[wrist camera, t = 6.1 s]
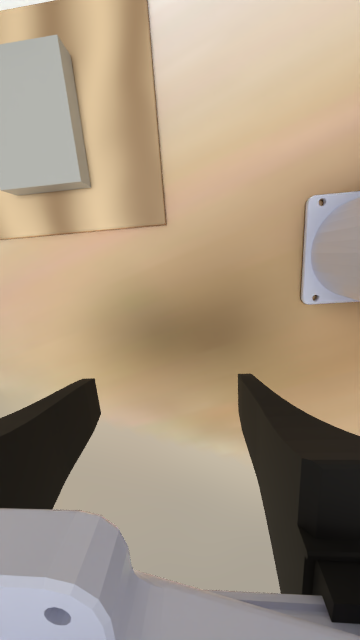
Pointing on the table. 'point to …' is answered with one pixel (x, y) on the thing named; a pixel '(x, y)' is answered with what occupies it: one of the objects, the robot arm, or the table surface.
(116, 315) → the table surface
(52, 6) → the wooden board
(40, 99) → the tile
